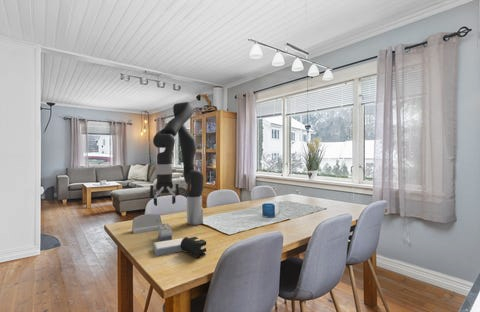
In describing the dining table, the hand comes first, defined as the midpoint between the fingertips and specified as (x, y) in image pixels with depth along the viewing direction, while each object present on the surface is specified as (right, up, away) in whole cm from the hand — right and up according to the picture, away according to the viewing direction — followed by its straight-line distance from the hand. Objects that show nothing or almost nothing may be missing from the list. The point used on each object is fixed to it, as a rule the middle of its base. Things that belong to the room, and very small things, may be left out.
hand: (164, 204), depth 128 cm
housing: (0, -18, 0) cm, 18 cm away
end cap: (+18, -19, -17) cm, 31 cm away
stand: (+6, -18, -12) cm, 23 cm away
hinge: (-15, -18, +17) cm, 29 cm away
